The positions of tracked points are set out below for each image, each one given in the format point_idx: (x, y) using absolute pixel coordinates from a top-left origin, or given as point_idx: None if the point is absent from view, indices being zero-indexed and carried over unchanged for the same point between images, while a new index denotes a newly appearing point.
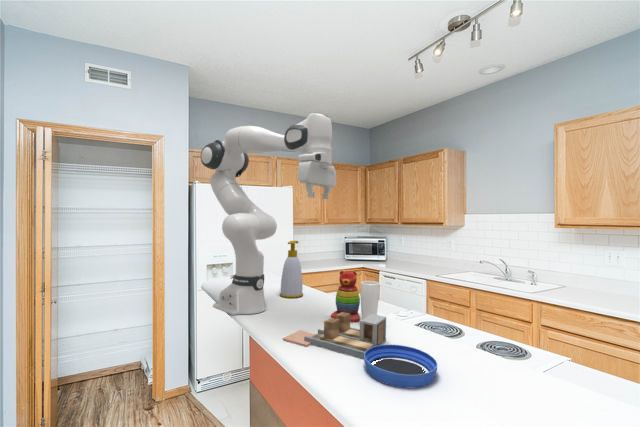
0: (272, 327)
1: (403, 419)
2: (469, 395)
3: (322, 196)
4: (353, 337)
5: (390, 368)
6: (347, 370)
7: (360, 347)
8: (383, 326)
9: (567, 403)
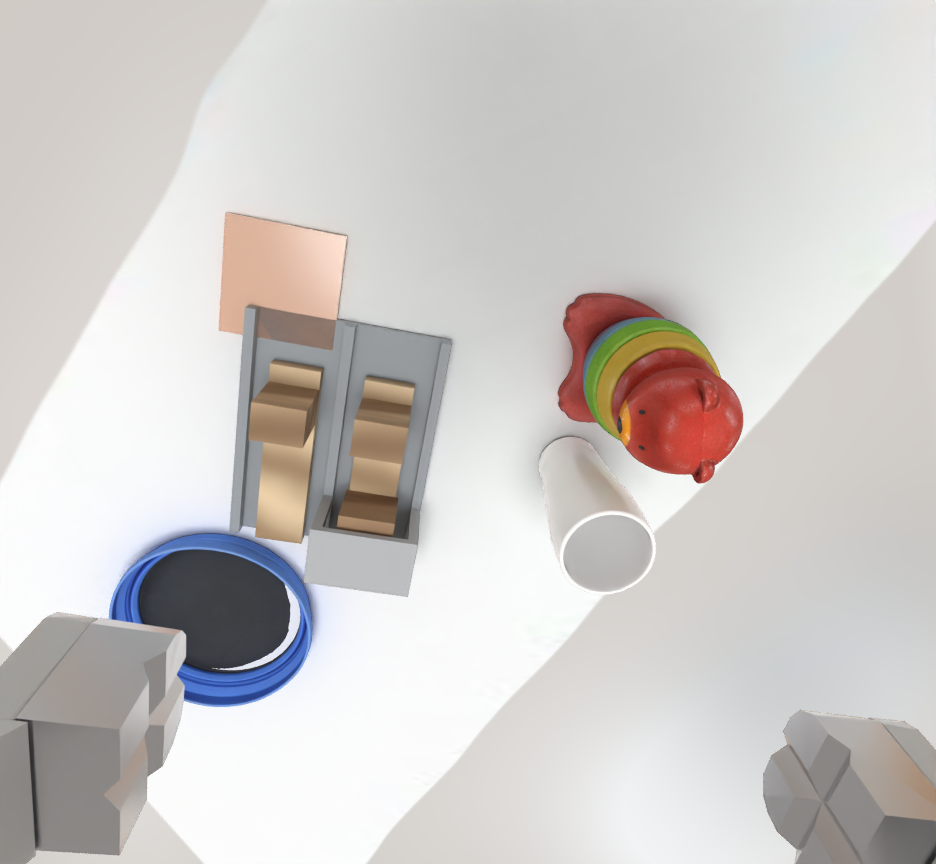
0: (336, 85)
1: (13, 643)
2: (189, 736)
3: (851, 755)
4: (335, 470)
5: (211, 592)
6: (140, 497)
7: (257, 513)
8: None
9: (261, 860)
